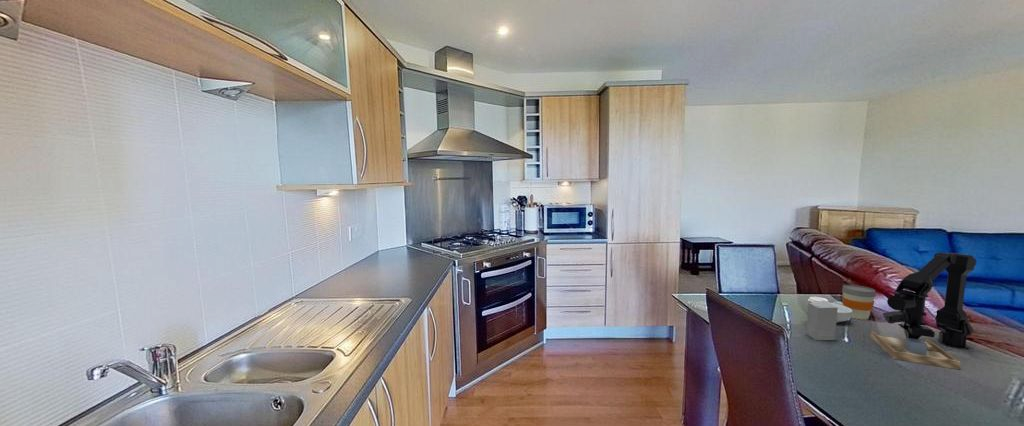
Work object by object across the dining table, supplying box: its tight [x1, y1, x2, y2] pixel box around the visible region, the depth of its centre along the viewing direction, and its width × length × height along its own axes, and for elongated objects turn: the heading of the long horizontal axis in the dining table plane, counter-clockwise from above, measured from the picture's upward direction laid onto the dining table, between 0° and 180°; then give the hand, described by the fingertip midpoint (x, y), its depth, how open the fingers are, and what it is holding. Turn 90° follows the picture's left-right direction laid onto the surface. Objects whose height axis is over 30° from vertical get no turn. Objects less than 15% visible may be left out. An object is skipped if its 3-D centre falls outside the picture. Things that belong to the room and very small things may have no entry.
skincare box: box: [805, 301, 838, 341], centre depth 159 cm, size 8×7×16 cm
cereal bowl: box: [829, 302, 852, 324], centre depth 181 cm, size 17×17×7 cm
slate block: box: [904, 337, 928, 355], centre depth 143 cm, size 4×4×4 cm
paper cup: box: [807, 296, 830, 303], centre depth 172 cm, size 8×8×14 cm
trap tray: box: [870, 330, 961, 370], centre depth 146 cm, size 18×22×3 cm
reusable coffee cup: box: [841, 284, 876, 320], centre depth 184 cm, size 13×13×15 cm
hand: (910, 344), depth 147 cm, fingers closed
